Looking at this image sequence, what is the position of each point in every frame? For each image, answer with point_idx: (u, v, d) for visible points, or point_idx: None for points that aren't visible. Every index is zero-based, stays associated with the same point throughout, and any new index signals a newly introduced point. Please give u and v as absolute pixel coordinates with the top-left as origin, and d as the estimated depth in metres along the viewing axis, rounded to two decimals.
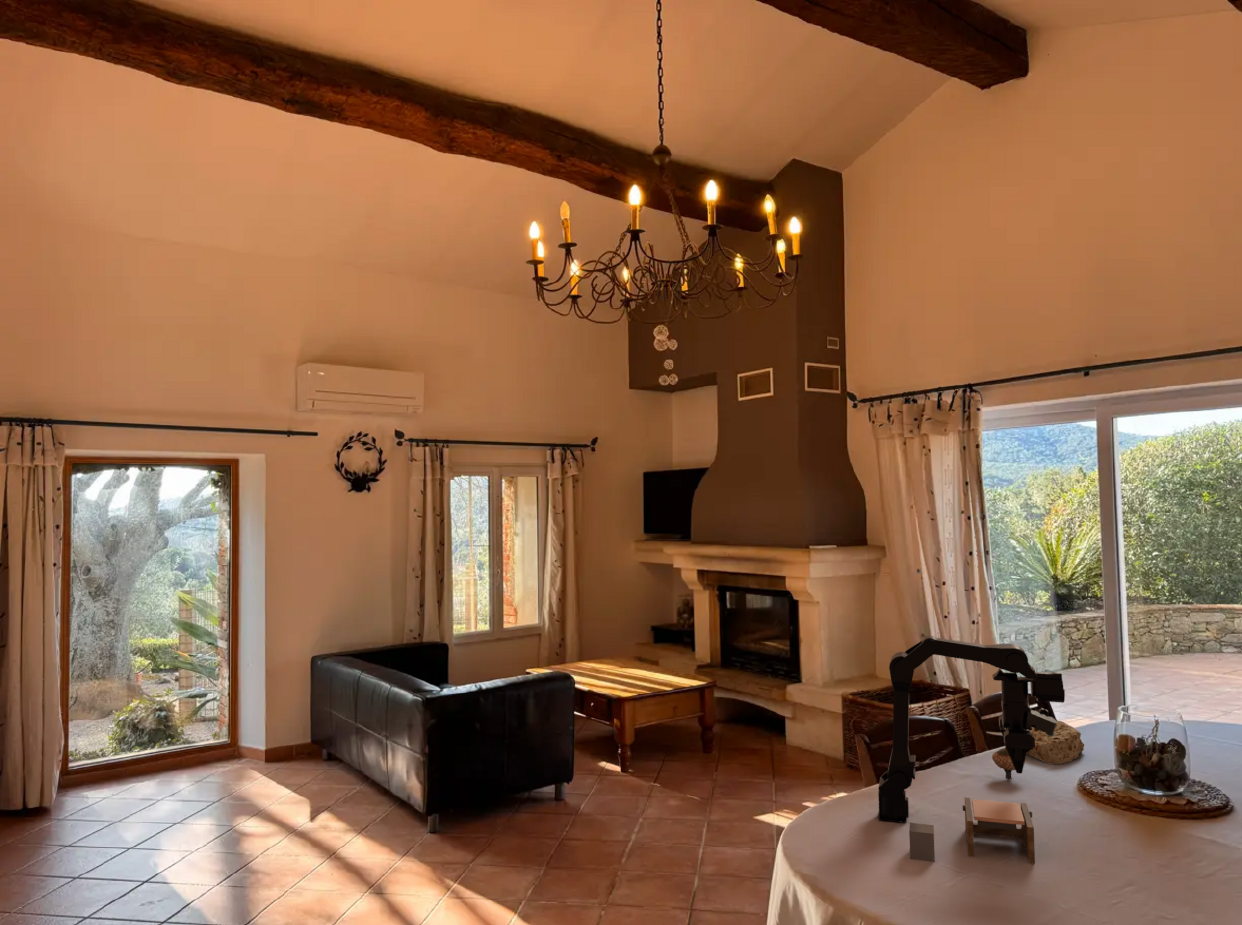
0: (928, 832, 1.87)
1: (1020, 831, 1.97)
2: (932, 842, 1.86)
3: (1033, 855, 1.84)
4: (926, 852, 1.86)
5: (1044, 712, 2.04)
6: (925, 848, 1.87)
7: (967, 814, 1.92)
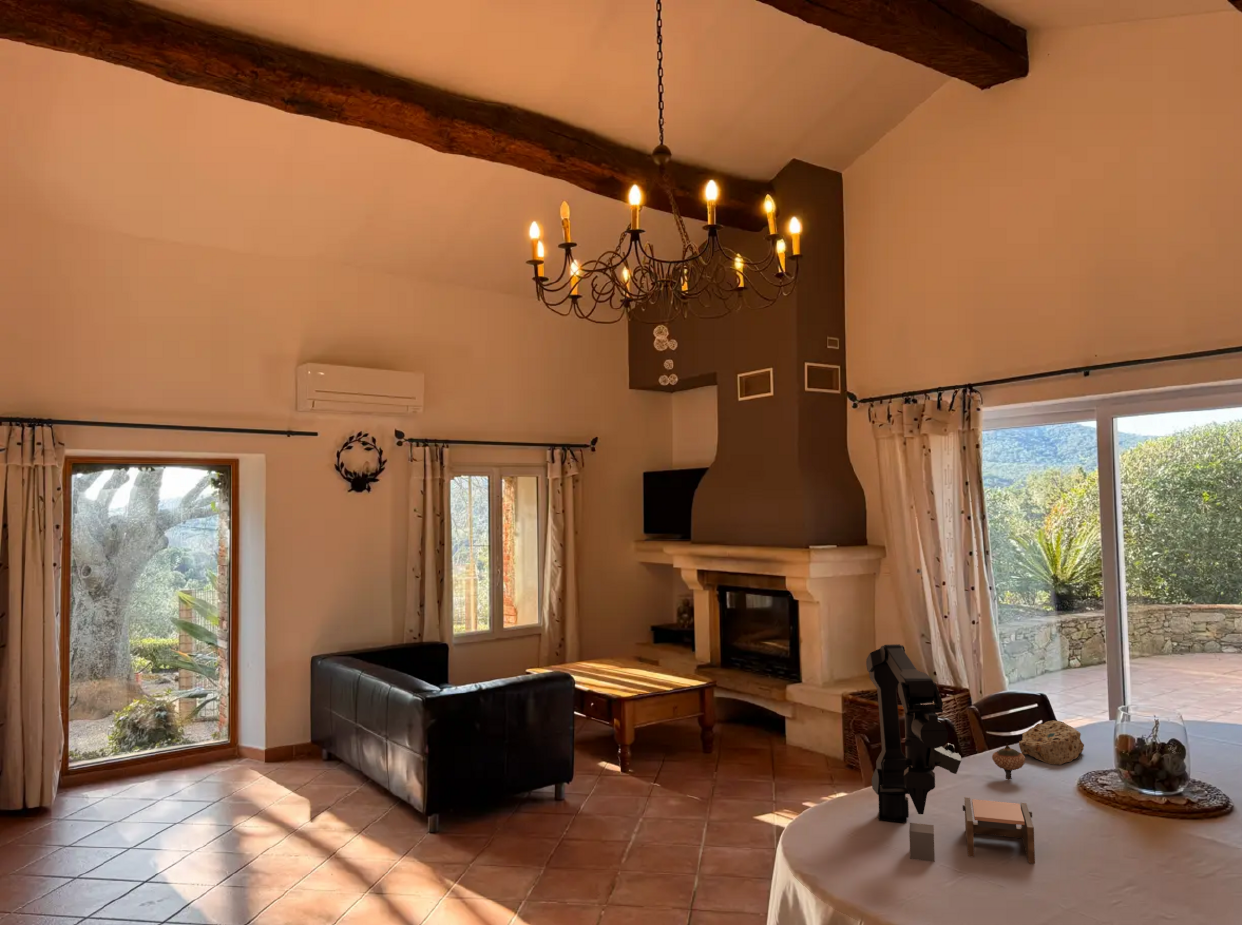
0: (928, 832, 1.87)
1: (1020, 831, 1.97)
2: (932, 842, 1.86)
3: (1033, 855, 1.84)
4: (926, 852, 1.86)
5: (950, 747, 1.91)
6: (925, 848, 1.87)
7: (967, 814, 1.92)
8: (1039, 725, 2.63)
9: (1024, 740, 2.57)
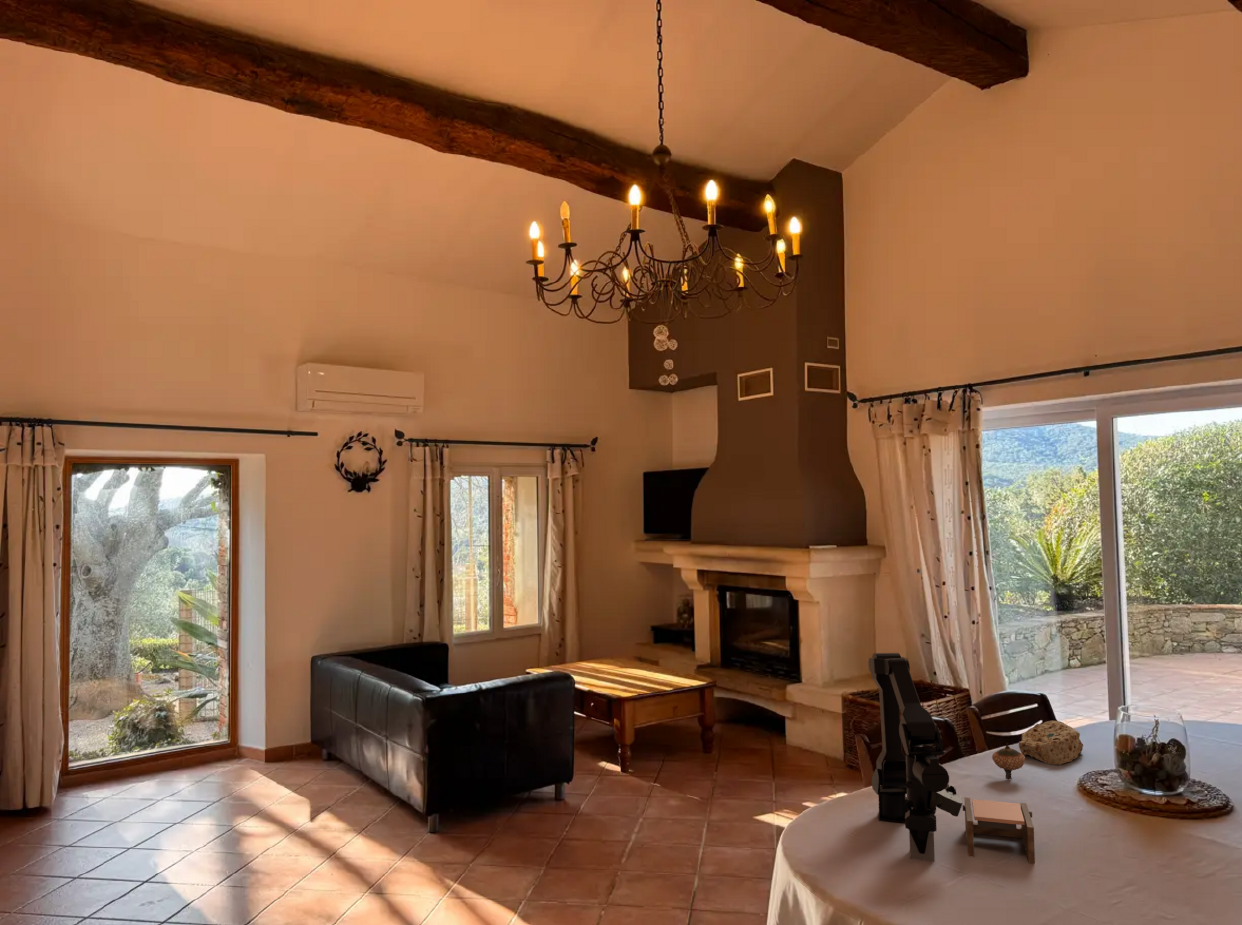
0: None
1: (1020, 831, 1.97)
2: (932, 842, 1.86)
3: (1033, 855, 1.84)
4: (926, 852, 1.86)
5: (952, 789, 1.91)
6: None
7: (967, 814, 1.92)
8: (1038, 725, 2.63)
9: (1024, 740, 2.57)
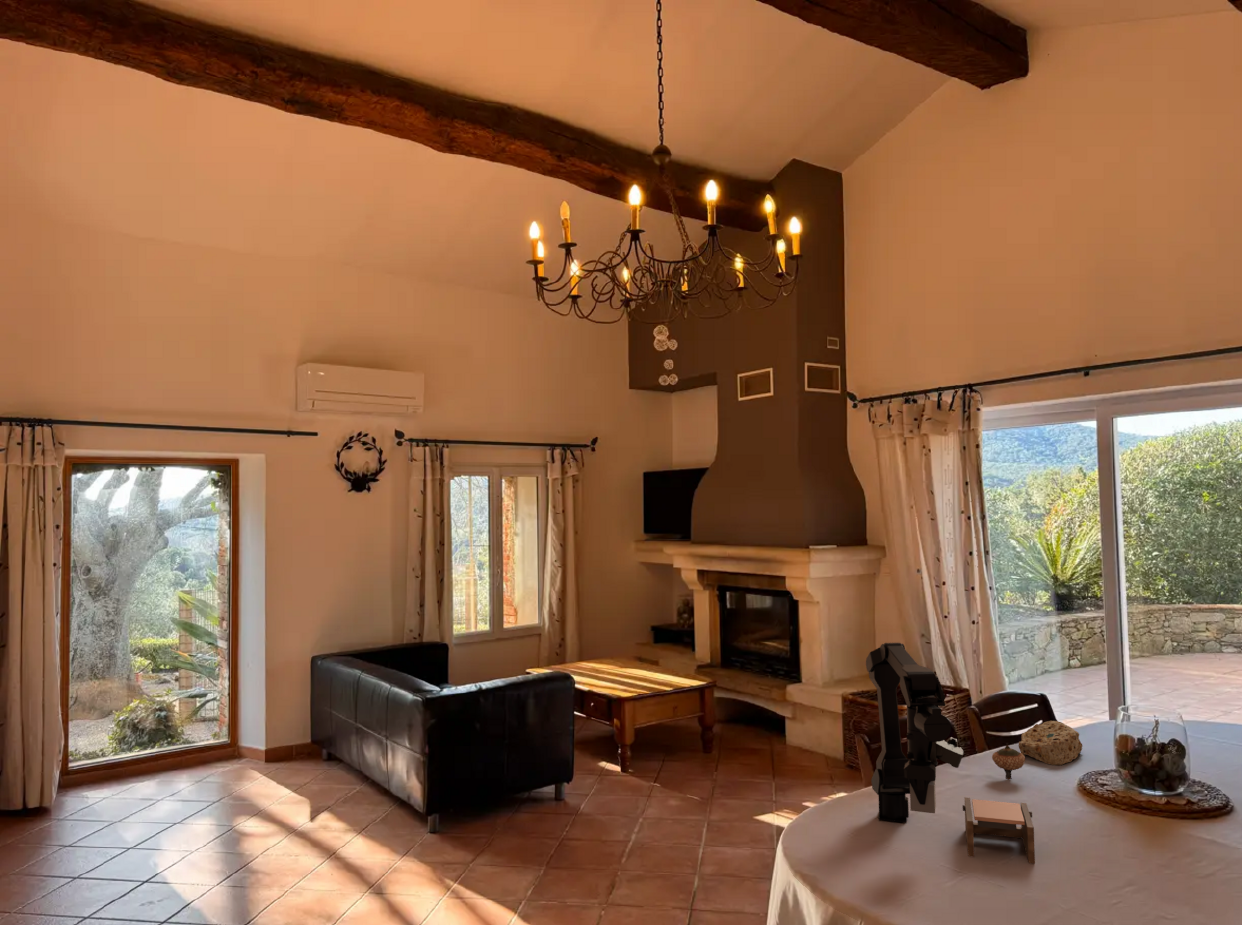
0: (928, 784, 1.87)
1: (1020, 831, 1.97)
2: (932, 794, 1.86)
3: (1033, 855, 1.84)
4: (926, 804, 1.87)
5: (953, 742, 1.91)
6: None
7: (967, 814, 1.92)
8: (1038, 725, 2.63)
9: (1024, 741, 2.56)
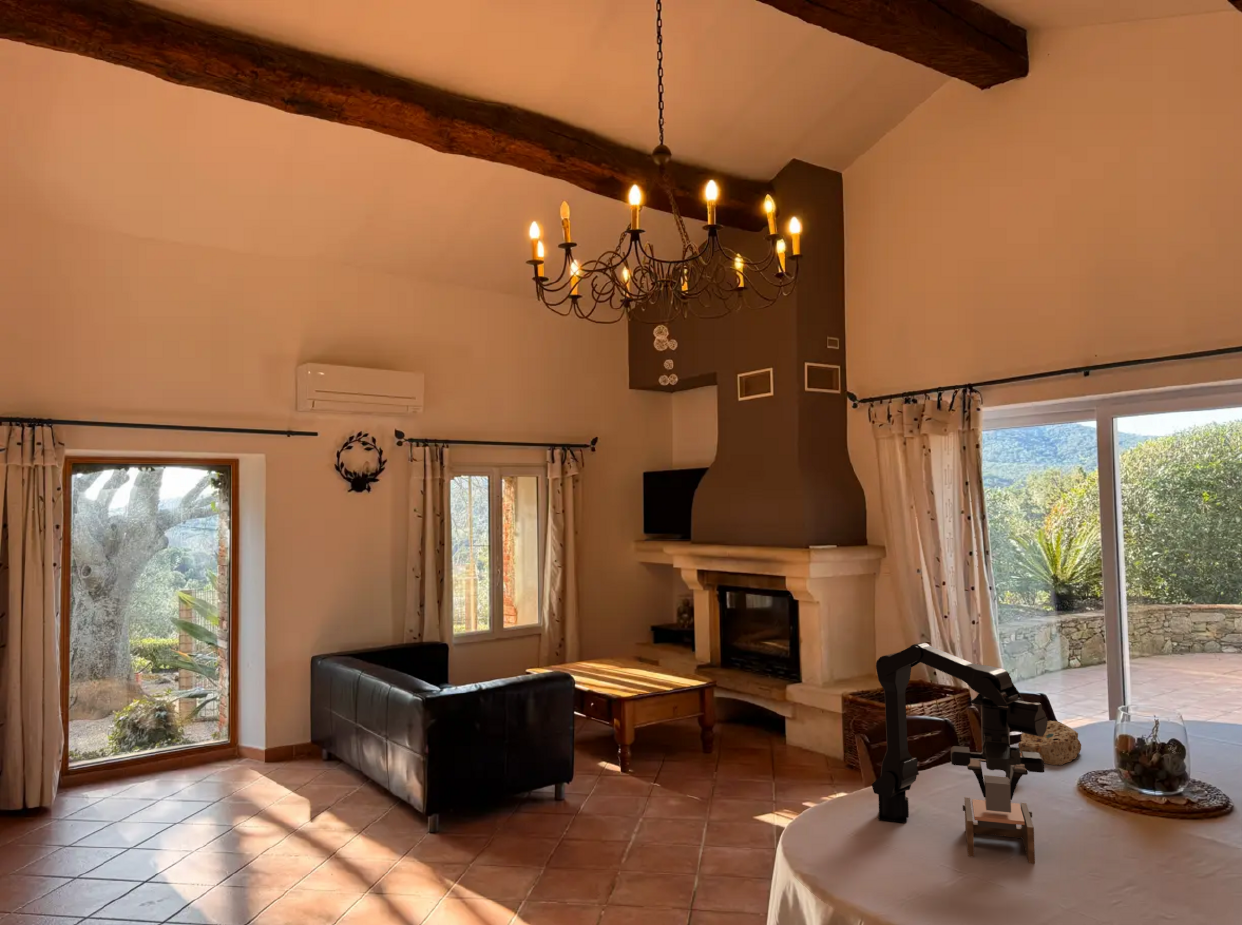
0: (987, 780, 1.91)
1: (1020, 831, 1.97)
2: (985, 790, 1.90)
3: (1033, 855, 1.84)
4: (985, 799, 1.91)
5: None
6: (985, 795, 1.91)
7: (967, 814, 1.92)
8: None
9: (1023, 741, 2.56)
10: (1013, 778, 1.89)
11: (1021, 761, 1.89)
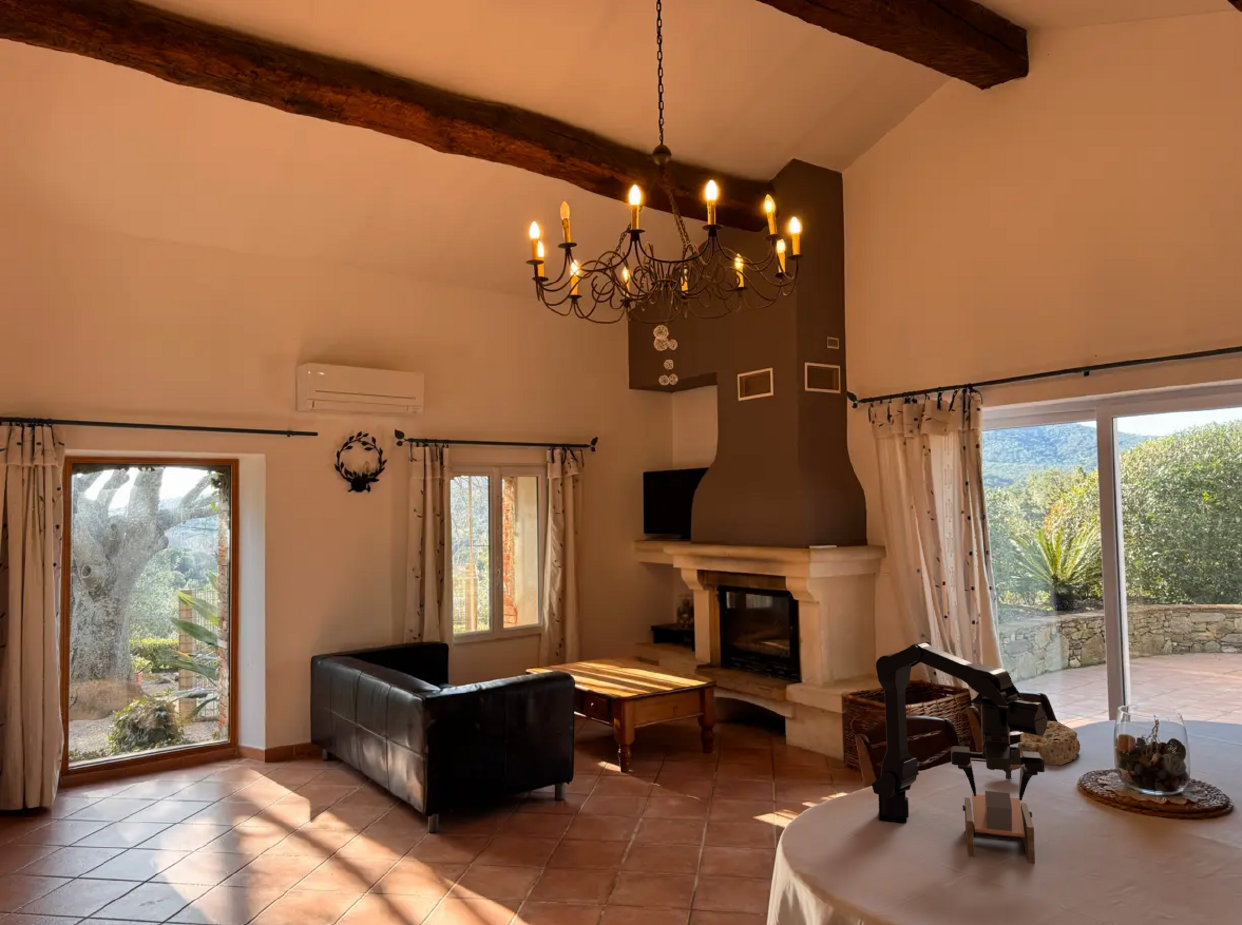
0: (988, 803, 1.89)
1: None
2: (986, 812, 1.89)
3: (1033, 855, 1.84)
4: (986, 816, 1.91)
5: None
6: None
7: (967, 814, 1.92)
8: None
9: (1023, 741, 2.56)
10: (1023, 778, 1.88)
11: (1021, 761, 1.89)
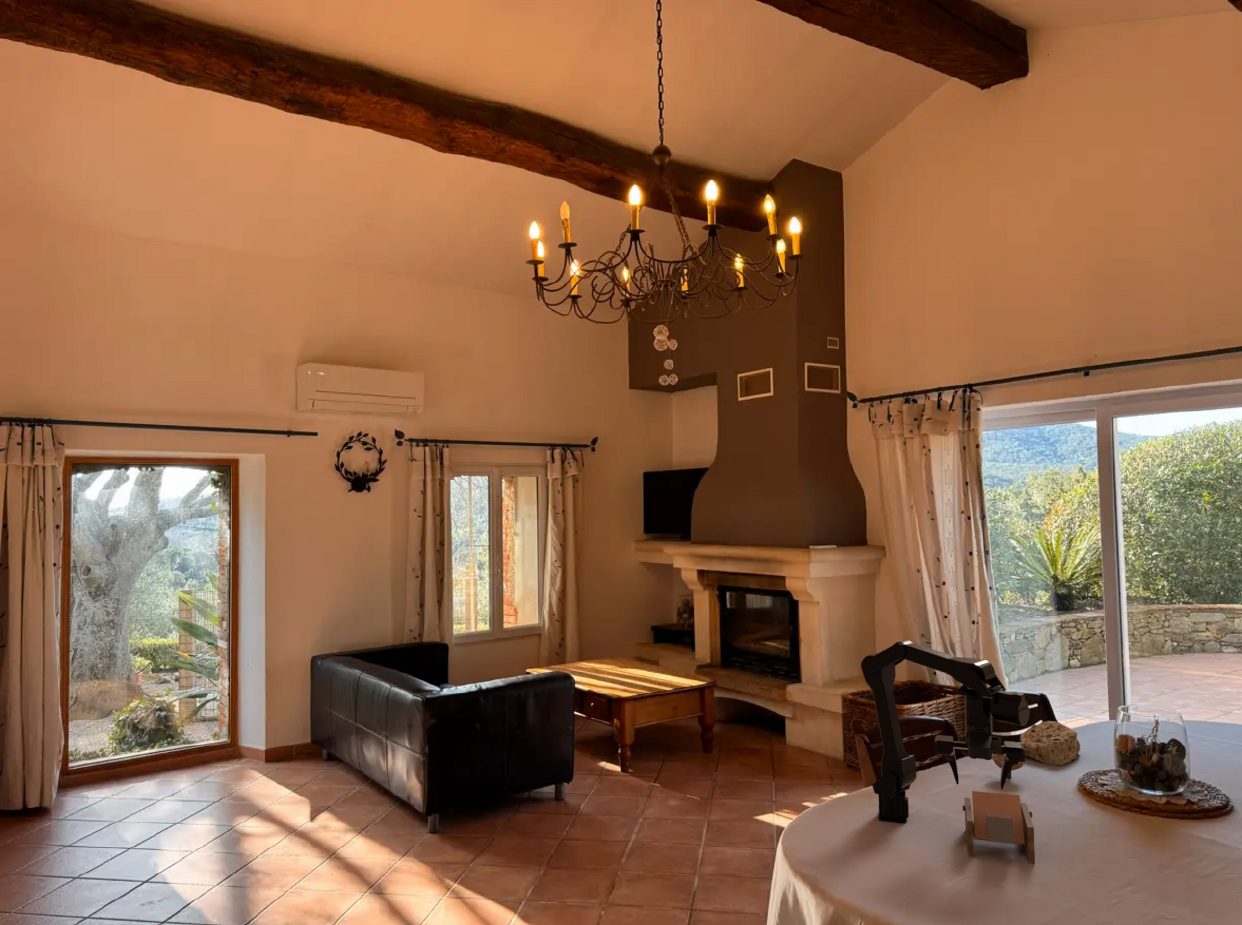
0: (990, 835, 1.86)
1: None
2: None
3: (1033, 855, 1.84)
4: None
5: None
6: None
7: (967, 814, 1.92)
8: (1035, 726, 2.63)
9: (1023, 741, 2.56)
10: (1004, 768, 1.93)
11: (1003, 750, 1.94)
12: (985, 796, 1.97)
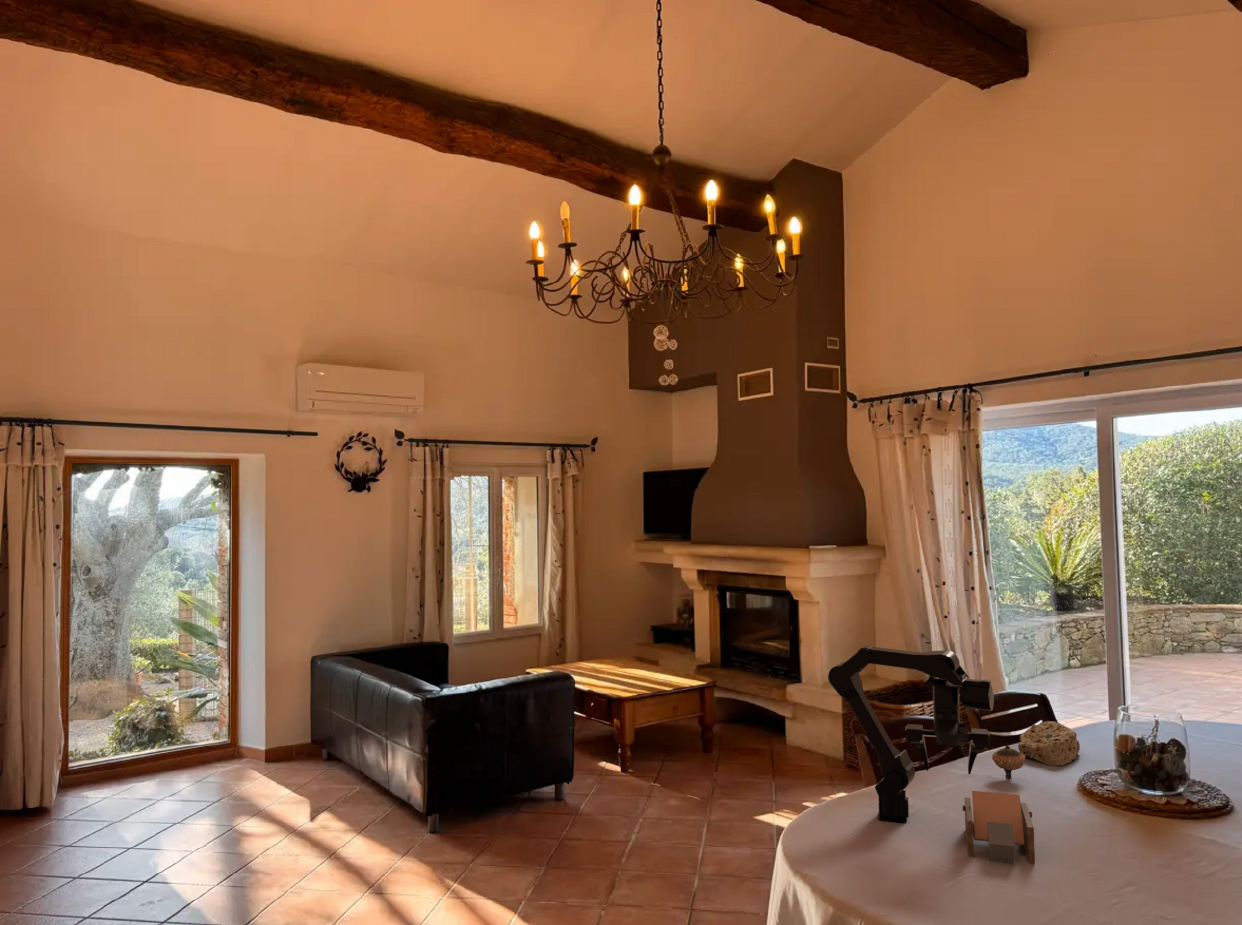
0: (991, 857, 1.85)
1: None
2: (988, 852, 1.87)
3: (1033, 855, 1.84)
4: (987, 839, 1.89)
5: None
6: None
7: (967, 814, 1.92)
8: (1035, 726, 2.62)
9: (1023, 742, 2.55)
10: (971, 753, 2.01)
11: (970, 737, 2.03)
12: (985, 796, 1.97)
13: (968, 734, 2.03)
